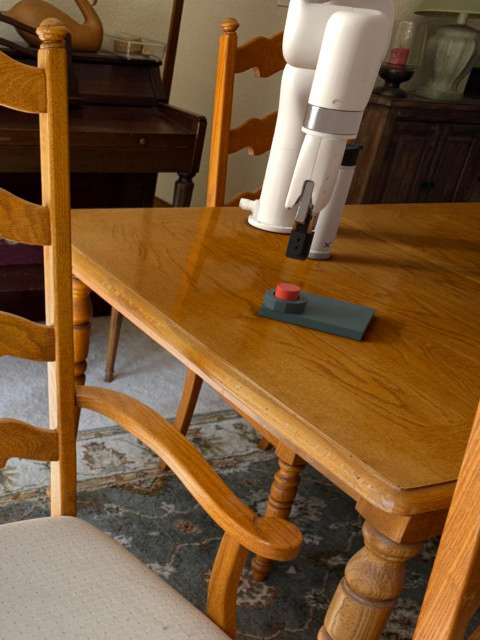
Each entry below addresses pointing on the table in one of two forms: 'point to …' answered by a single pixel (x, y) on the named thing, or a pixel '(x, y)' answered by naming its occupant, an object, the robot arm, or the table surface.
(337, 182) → the travel mug
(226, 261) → the table surface
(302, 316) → the grey kitchen scale
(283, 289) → the button
